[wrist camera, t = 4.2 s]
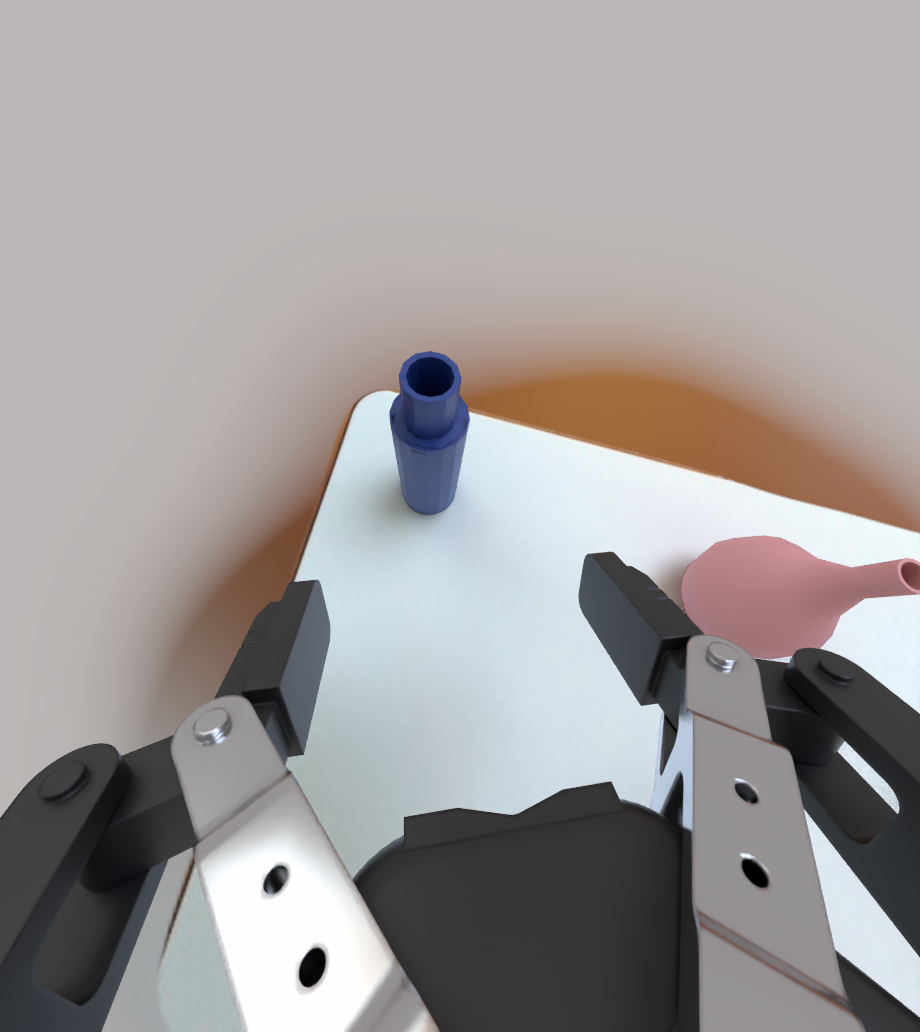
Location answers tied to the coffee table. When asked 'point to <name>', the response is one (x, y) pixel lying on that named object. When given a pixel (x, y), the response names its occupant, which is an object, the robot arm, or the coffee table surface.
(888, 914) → the robot arm
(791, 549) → the pink bud vase
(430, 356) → the bottle
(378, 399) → the coffee table surface
